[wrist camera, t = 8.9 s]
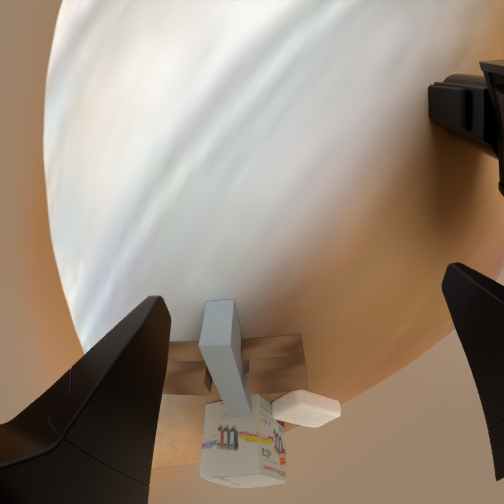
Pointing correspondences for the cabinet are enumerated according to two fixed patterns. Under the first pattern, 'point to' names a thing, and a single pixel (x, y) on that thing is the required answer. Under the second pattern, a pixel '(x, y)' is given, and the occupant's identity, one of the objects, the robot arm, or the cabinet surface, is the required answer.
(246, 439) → the ink box
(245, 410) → the light blue block
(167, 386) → the brown boxy piece
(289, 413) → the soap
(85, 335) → the cabinet surface
